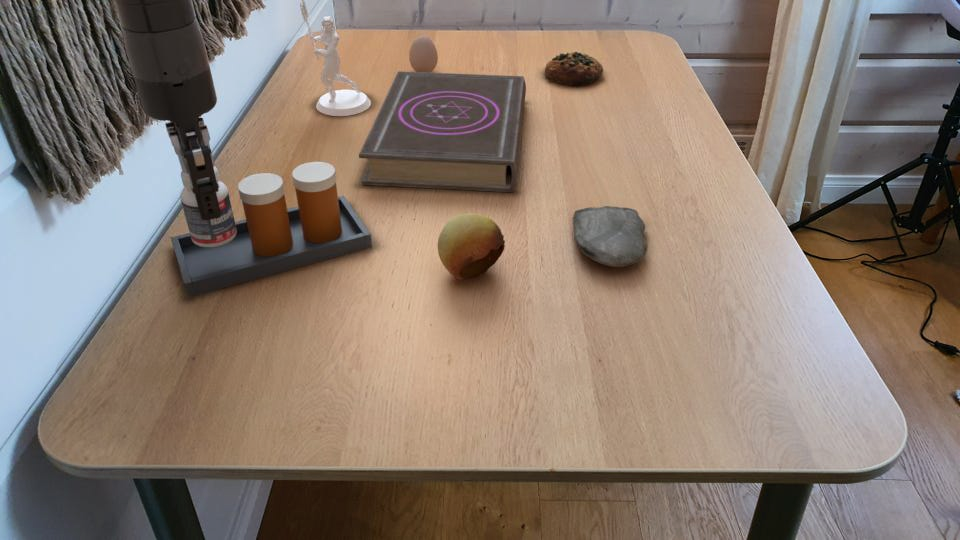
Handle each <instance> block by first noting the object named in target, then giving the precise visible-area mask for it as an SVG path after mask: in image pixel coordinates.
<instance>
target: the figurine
mask: <svg viewBox="0 0 960 540" xmlns="http://www.w3.org/2000/svg"><path fill="white" fill-rule="evenodd" d="M299 7H300V12H301V16H302V19H303V21H304V23H306V25H307V29H308V32H309V35H310V36H309V37H310V40H311V42H312V46H313V48H314V54H315V57H316V59H317V60H318V61H319V60H320V56H322V57H324V58H323V69H322V71H321V73H320V80H321V83H322V85H323V86H325V88H326V90H327V91H328V92H326V93H324V94H323V95H321V96H320V98H319V99H318V101H317V103H316V105H315V107H316V110H317V111H318V112H319V113H321V114H323V115H327V116H332V117H348V116H353V115H358V114H360V113H363V112H365V111H367V110H368V109H369V108H370V107H371V105H372V101H371V99H370V98H369V97H368V96H367V95H366V94H365V93H364V92H362V91H360V89H359V86H358V83H357V82H355V81H354V80H350V79H349V77H348V76H345V75H343V74H340V65H341V58H340V56H339V52H338V49H337V46H338V43H339V41H340V36H339V34H338V32H337V31H336V28H335V27H336V26H335V19H334V18H332V17H331V16H330V15H328V16H327V15H325V16H323V19H322V18H321V20H320V21H321V26H322V27H321V30H320V35H318V36H314V34H313V32H312V29H311V26H310V22H309V19H308V17H309V13H308V8H307V4H306V1H305V0H301V2H300V3H299ZM321 42H322V44H323V45H324V46H325V47H324V49H322V48H317V47H316V43H321ZM334 82H339V83H342V84H344V85H349V86H350V88H352V89H336V90H335V88H334Z"/></svg>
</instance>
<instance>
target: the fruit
mask: <svg viewBox="0 0 960 540" xmlns="http://www.w3.org/2000/svg"><path fill="white" fill-rule="evenodd" d="M505 247H506V240H505V236H504V234H503V233H502V230H501V228H500V227H499V225H498V224H497V222H495V221H494V220H493V219H491V218H490V217H488V216H486V215H483V214H479V213H474V212H468V213H467V212H466V213H461V214H459V215H456V216H454V217H452V218H451V219H449V220H448V221H447V222H446V223H445V225H444V226H443V227H442V229H441V231H440V233H439V235H438V237H437V254H438V257H439V260H440V262H441V263H442V265H443V267H444V268H445V269H446V270H447V272H448V273H449V274H451V276H453V277H454V279H455V280H460V281H462V280H467V279H471V278H476V277H480V276H483V275H484V274H485V273H486V272H487V271H488V270H489V269H490V268H491V267H493V266H494V265H495V264H496V263H497V262H498V260H499V258H500V257H501V256H502V254H503V253H504V251H505Z"/></svg>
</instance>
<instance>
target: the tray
mask: <svg viewBox="0 0 960 540" xmlns="http://www.w3.org/2000/svg"><path fill="white" fill-rule="evenodd" d="M338 203H339V210H340V218H341V225H342V233H341V235H340V236H339V237H338V238H337V239H335V240H333V241H330V242H326V243H312V242H309V241H307V240H306V239H305V238H304V236H303V231H302V225H301V220H300V214H299V208H298V206H295V207H290V208H287V212H288V217H289V223H290V228H291V234H292V239H293V245H292V247H291V249H290V250H289V251H287V252H286V253H284V254H281V255H277V256H273V257H264V256H260V255H257V254H256V253H255V252H254V251H253V248H252V244H251V239H250V235H249V230H248V226H247V221H246V218H245V219H241V220H237V221H236V220H235V224H236V229H237V233H236V236H235V237H234V238H233V239H232V240H231V241H230V242H228V243H226V244H224V245H221V246H217V247H201V246H198V245H196V244H195V243H194V242H193V241H192V239H191V236H190V232H188V233H184V234H179V235H175V236H171V237H170V241H171V244H172V247H173V250H174V251H173V252H174V254H175V258H176V261H177V264H178V267H179V271H180V273H181V277H182V280H183V284H184V287H185V290H186V293H187V294H186V295H187V297H188V298H191V297H195V296H199V295H203V294H206V293H209V292H213V291H216V290H217V291H218V290H220V289H224V288H227V287H228V288H229V287H232V286H235V285H240V284H242V283H246V282H249V281H253V280H257V279H261V278H264V277H267V276H271V275H272V276H273V275H275V274H279V273H282V272H286V271H290V270H293V269H298V268H301V267H305V266H308V265H313V264H315V263H318V262H323V261H326V260H330V259H334V258H337V257H341V256H344V255H348V254H351V253H356V252H359V251H362V250H366V249H370V248H373V243H372V234H371V233H370V231H369V229H368V228H367V227H366V225H365V224H364V223H363V221H362V220H361V218H360V216H359V215H358V214H357V213H356V211H355V209H354V208H353V207H352V206H351V203H350V202H349V200H348V199H347V198H346V196H345V195H340V196H339V195H338Z"/></svg>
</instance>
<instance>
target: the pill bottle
mask: <svg viewBox="0 0 960 540" xmlns="http://www.w3.org/2000/svg"><path fill="white" fill-rule="evenodd" d="M213 168H214V172H215V177H216V181H217V183H218V185H219V188H218V192H216V194H217V198H218V203H219V207H220V211H221V216H220V217H218V218H215V219H211V220H206V221H205V220H202V218H201V216H200V213H199V209H198V205H197V201H196V198H195V194H193V191H192V190H191V187H190V186H191V182H190V179H189V175H188V174H187V173H184V172H183V171H182V170H181V172H180V178H181V183H182V185H183V188H182V189H181V192H180V201H181V205H182V209H183V213H184V214H183V215H184V217H185V221H186V225H187V228H188V233H190V236H191V239H192V241H193V242H194V243H195V244H196V245H198V246H201V247H217V246H221V245H224V244H226V243H228V242H230V241H231V240H232V239H233V238H234V237H235V236H236V233H237V229H236V224H235V222H236V220H235V216H234V212H233V207H232V202H231V198H230V195H229V190H228V187H227V185H226V184H225V183H223V182H222V181H221V180H220V174H219V171H218V167H217V166H216V165H215V166H214V167H213ZM207 179H209V178H208V177H207V178H203V179H199V180H197V182H198V181H202V180H207Z"/></svg>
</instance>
